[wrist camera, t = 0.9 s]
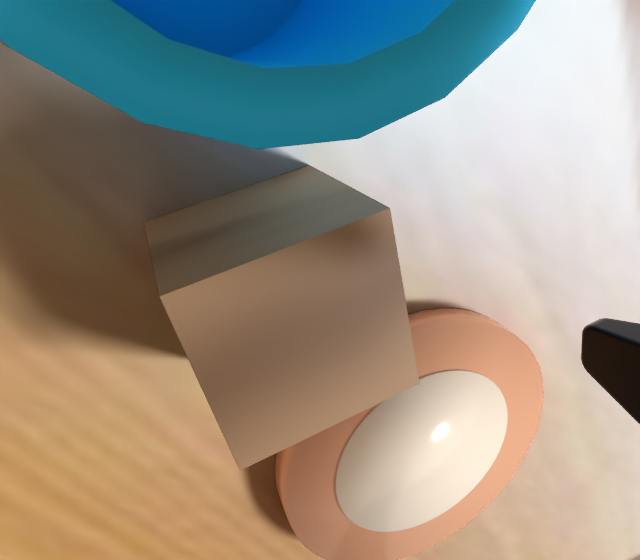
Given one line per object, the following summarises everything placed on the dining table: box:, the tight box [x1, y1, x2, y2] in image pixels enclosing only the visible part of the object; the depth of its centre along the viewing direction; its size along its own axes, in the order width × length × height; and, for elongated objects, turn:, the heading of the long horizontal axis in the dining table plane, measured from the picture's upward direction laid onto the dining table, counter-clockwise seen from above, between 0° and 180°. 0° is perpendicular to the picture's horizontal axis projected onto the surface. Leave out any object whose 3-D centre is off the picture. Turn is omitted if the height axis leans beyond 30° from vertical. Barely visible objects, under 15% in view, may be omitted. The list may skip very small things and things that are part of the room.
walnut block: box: [143, 165, 420, 470], centre depth 13 cm, size 5×5×5 cm
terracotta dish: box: [275, 308, 544, 560], centre depth 20 cm, size 12×12×1 cm
